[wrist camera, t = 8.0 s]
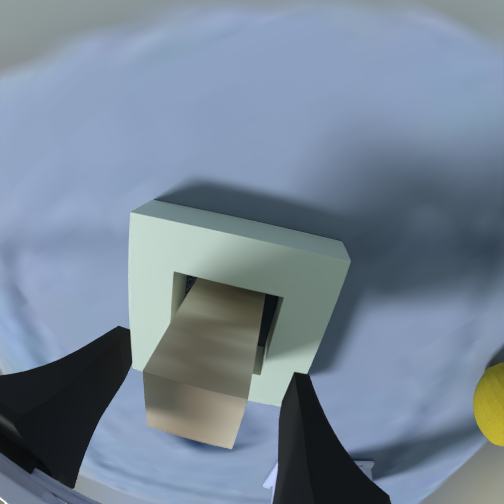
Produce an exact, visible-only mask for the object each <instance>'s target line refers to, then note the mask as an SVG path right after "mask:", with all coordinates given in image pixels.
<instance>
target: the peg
mask: <svg viewBox="0 0 504 504" xmlns="http://www.w3.org/2000/svg"><path fill="white" fill-rule="evenodd" d="M265 295H266V293H263V292H258V291H254V290H249V289H245V288H241V287H236V286H232V285H228V284H224V283H219V282H215V281H211V280H207V279H203V278H199V277H198V278H197V279H196V281H195V283H194V284H193V286H192V288H191V289H190V291H189V293H188V294H187V296H186V298H185V299H184V301H183V303H182V304H181V306H180V308H179V309H178V311H177V313H176V314H175V316H174V318H173V319H172V321H171V323H170V324H169V326H168V328H167V330H166V331H165V333H164V335H163V336H162V338H161V340H160V341H159V343H158V345H157V347H156V348H155V350H154V352H153V354H152V355H151V357H150V359H149V361H148V362H147V364H146V366H145V368H144V369H143V382H144V395H145V406H146V415H147V424H148V426H150V427H153V428H156V429H159V430H162V431H165V432H168V433H171V434H175V435H178V436H181V437H185V438H189V439H192V440H196V441H200V442H204V443H207V444H212V445H216V446H220V447H225V448H229V449H232V447H233V444H234V441H235V438H236V435H237V432H238V429H239V426H240V423H241V420H242V417H243V413H244V410H245V407H246V404H247V401H248V396H249V390H250V385H251V379H252V373H253V367H254V362H255V356H256V350H257V344H258V338H259V332H260V326H261V320H262V314H263V308H264V301H265Z"/></svg>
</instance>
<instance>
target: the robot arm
mask: <svg viewBox="0 0 504 504" xmlns="http://www.w3.org/2000/svg"><path fill="white" fill-rule="evenodd" d="M131 365H132V348H131V331H130V329H127V328H124V327H121V326H117V327H116V328H114V329H112V330H111V331H109V332H107V333H106V334H104V335H102V336H101V337H99V338H98V339H96V340H94V341H93V342H91V343H89V344H88V345H86V346H84V347H82V348H81V349H79V350H77V351H75V352H73V353H71V354H69V355H67V356H65V357H63V358H61V359H59V360H57V361H54V362H52V363H49V364H47V365H44V366H41V367H37V368H34V369H31V370H27V371H23V372H19V373H14V374H8V375H0V499H1V500H2V501H3V502H4V503H6V504H65V503H67V504H101V503H99V502H97V501H94V500H92V499H90V498H88V497H86V496H84V495H82V494H80V493H78V492H76V491H74V490H72V489H73V488H74V487H75V483H76V480H77V476H78V473H79V469H80V466H81V463H82V461H83V458H84V455H85V452H86V450H87V447H88V445H89V442H90V440H91V437H92V435H93V433H94V431H95V428H96V426H97V424H98V422H99V420H100V418H101V417H102V415H103V413H104V412H105V410H106V408H107V407H108V405H109V404H110V402H111V400H112V399H113V397H114V396H115V394H116V393H117V391H118V390H119V388H120V386H121V385H122V383H123V382H124V380H125V378H126V376H127V374H128V371H129V369H130V367H131ZM373 466H374V462H373V461H353V460H352V458H351V457H350V456H349V454H348V453H347V452H346V450H345V449H344V447H343V446H342V444H341V443H340V441H339V440H338V438H337V436H336V435H335V433H334V431H333V429H332V427H331V426H330V424H329V422H328V420H327V418H326V416H325V414H324V411H323V409H322V407H321V405H320V403H319V400H318V398H317V395H316V393H315V390H314V387H313V385H312V382H311V379H310V376H309V375H308V374H304V373H299V372H294V373H293V376H292V378H291V381H290V383H289V385H288V388H287V390H286V393H285V395H284V397H283V399H282V403H281V410H280V417H279V439H278V462H277V464H276V465H275V467H274V469H273V470H272V472H271V473H270V475H269V476H268V478H267V479H266V481H265V482H264V484H263V487H264V488H269V489H273V491H272V501H271V504H391V501H390V497H389V495H388V494H387V493H385V492H384V491H383V490H382V489H381V488H379V487H378V486H377V485H376V484H375V483H374V482H373V481H372V473H371V468H372V467H373ZM57 498H58V499H57ZM59 499H60V500H62V501H63V502H65V503H63V502H62V501H60V500H59Z"/></svg>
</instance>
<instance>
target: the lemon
mask: <svg viewBox="0 0 504 504" xmlns="http://www.w3.org/2000/svg"><path fill="white" fill-rule="evenodd" d="M473 409H474V416H475V419H476V422H477V425H478V427H479V428H480V430H481V431H482V433H483V434H484V435H485V436H486V438H487V439H488V440H489V441H491V442H492V443H493V444H495V445H499V446H504V362H501V363H499V364H496V365H495V366H491V367H488V368H487V369H486V371H485V374H484V375H483V376H482V378H481V379H480V381H479V382H478V384H477V387H476V389H475V393H474V397H473Z"/></svg>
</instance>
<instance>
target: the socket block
mask: <svg viewBox="0 0 504 504" xmlns="http://www.w3.org/2000/svg"><path fill="white" fill-rule="evenodd" d="M350 263H351V260H350V258H349V255H348V253H347V251H346V249H345V246H344V244H343V242H342V241H338V240H334V239H330V238H326V237H322V236H318V235H313V234H309V233H305V232H301V231H296V230H292V229H288V228H283V227H279V226H275V225H270V224H266V223H261V222H257V221H252V220H248V219H243V218H239V217H234V216H229V215H225V214H220V213H215V212H211V211H206V210H201V209H196V208H191V207H186V206H181V205H176V204H171V203H166V202H161V201H156V200H151V201H149V202H148V203H146V204H144V205H142V206H140V207H139V208H137V209H135V210H133V211H132V212H130V229H129V267H128V284H129V322H130V331H131V348H132V367H133V368H134V369H136V370H139V371H142V372H143V369H144V368H145V366H146V364H147V362H148V361H149V359H150V357H151V355H152V354H153V352H154V350H155V348H156V347H157V345H158V343H159V341H160V340H161V338H162V336H163V335H164V333H165V331H166V330H167V328H168V326H169V324H170V323H171V321H172V319H173V318H174V316H175V314H176V313H177V311H178V309H179V308H180V306H181V304H182V303H183V301H184V299H185V289H186V280H187V275H191V276H195V277H199V278H203V279H207V280H211V281H215V282H219V283H224V284H228V285H232V286H236V287H241V288H245V289H249V290H254V291H258V292H263V293H267V294H271V295H276V296H279V298H278V302H277V305H276V309H275V312H274V316H273V319H272V323H271V326H270V330H269V333H268V337H267V340H266V343H265V347H261V346H257V350H256V356H255V362H254V367H253V373H252V379H251V385H250V390H249V396H248V401H253V402H258V403H263V404H269V405H274V406H280V407H281V403H282V399H283V397H284V395H285V393H286V390H287V388H288V385H289V383H290V381H291V378H292V376H293V373H294V372H299V373H304V374H307V373H308V370H309V368H310V366H311V364H312V361H313V359H314V357H315V354H316V352H317V350H318V347H319V345H320V343H321V340H322V338H323V335H324V333H325V330H326V328H327V325H328V323H329V320H330V318H331V315H332V313H333V310H334V307H335V305H336V302H337V300H338V297H339V294H340V291H341V289H342V286H343V283H344V280H345V278H346V275H347V272H348V269H349V266H350Z"/></svg>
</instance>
